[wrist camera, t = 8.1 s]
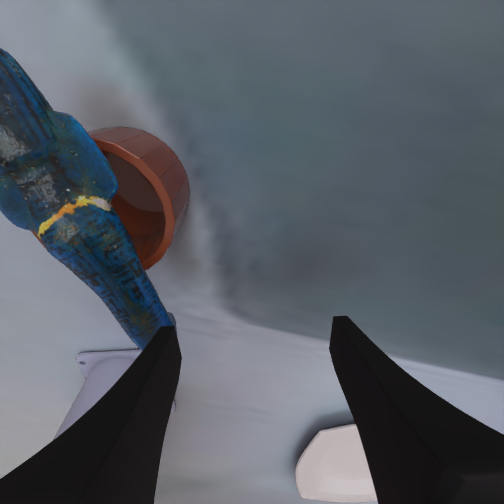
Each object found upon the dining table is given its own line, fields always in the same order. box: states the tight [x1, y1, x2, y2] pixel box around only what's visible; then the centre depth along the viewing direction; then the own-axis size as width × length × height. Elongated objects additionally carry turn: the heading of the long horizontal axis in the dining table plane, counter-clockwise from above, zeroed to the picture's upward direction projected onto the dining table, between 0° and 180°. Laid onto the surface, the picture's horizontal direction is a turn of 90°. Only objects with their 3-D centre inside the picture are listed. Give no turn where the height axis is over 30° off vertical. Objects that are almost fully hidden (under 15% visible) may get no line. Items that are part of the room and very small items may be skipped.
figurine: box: [0, 48, 177, 351], centre depth 14 cm, size 5×4×15 cm
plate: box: [295, 423, 377, 503], centre depth 37 cm, size 19×19×2 cm
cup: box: [32, 127, 189, 270], centre depth 17 cm, size 8×8×6 cm
